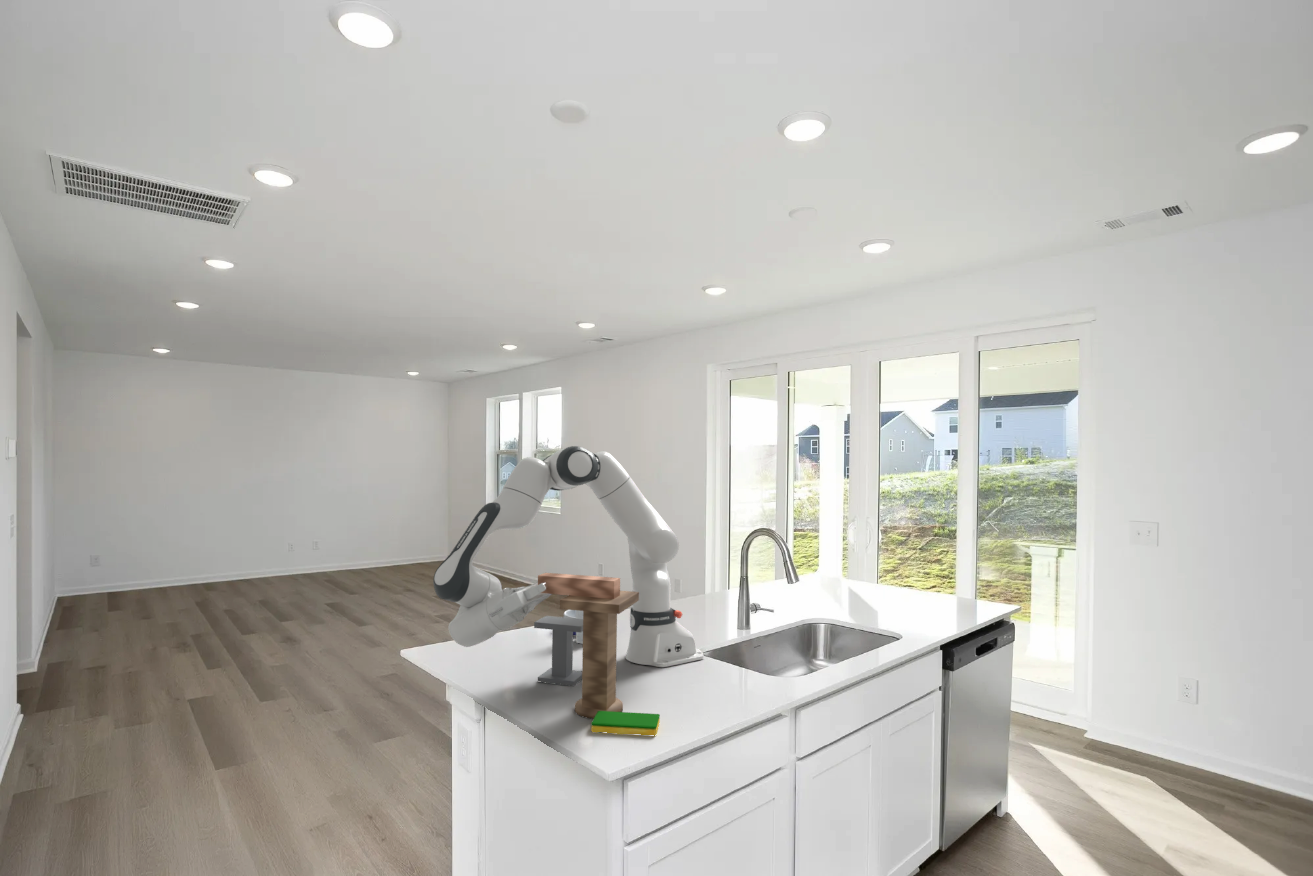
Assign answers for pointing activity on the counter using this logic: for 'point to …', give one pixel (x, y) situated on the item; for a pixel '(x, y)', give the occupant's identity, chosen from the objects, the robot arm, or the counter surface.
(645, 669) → the counter surface
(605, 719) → the dish sponge
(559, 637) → the low stand
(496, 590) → the robot arm
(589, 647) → the walnut pedestal
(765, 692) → the counter surface
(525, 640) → the counter surface
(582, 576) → the block
